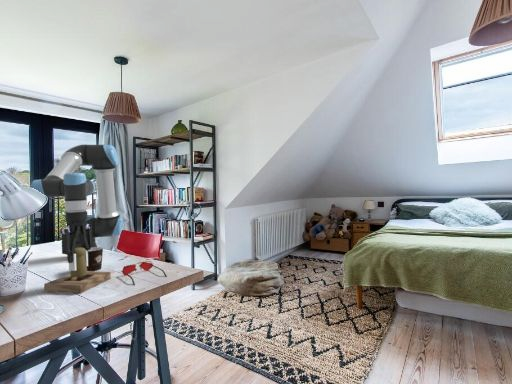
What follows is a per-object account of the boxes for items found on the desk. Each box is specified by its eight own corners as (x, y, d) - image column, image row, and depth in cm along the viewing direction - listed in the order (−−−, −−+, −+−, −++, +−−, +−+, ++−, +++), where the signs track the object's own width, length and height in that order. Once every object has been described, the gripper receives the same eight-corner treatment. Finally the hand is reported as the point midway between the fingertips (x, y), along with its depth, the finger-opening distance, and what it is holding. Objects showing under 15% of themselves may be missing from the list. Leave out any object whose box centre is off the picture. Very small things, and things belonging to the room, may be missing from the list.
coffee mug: (101, 265, 137) (100, 246, 137) (106, 269, 131) (105, 248, 131) (73, 271, 129) (72, 250, 129) (78, 275, 123) (77, 253, 123)
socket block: (78, 277, 120) (78, 270, 120) (110, 278, 117) (110, 271, 117) (44, 291, 104) (44, 283, 104) (80, 293, 101) (80, 285, 101)
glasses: (152, 269, 129) (152, 259, 129) (167, 277, 117) (166, 266, 117) (121, 277, 120) (120, 265, 120) (133, 286, 108) (133, 274, 108)
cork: (91, 273, 112) (90, 246, 111) (76, 278, 106) (75, 250, 106) (81, 271, 114) (80, 245, 114) (66, 276, 109) (65, 249, 108)
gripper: (86, 209, 119) (88, 261, 120) (47, 213, 101) (50, 275, 102) (101, 209, 118) (103, 262, 118) (64, 213, 100) (67, 275, 100)
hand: (78, 268), depth 110 cm, fingers closed on cork, 5 cm apart
